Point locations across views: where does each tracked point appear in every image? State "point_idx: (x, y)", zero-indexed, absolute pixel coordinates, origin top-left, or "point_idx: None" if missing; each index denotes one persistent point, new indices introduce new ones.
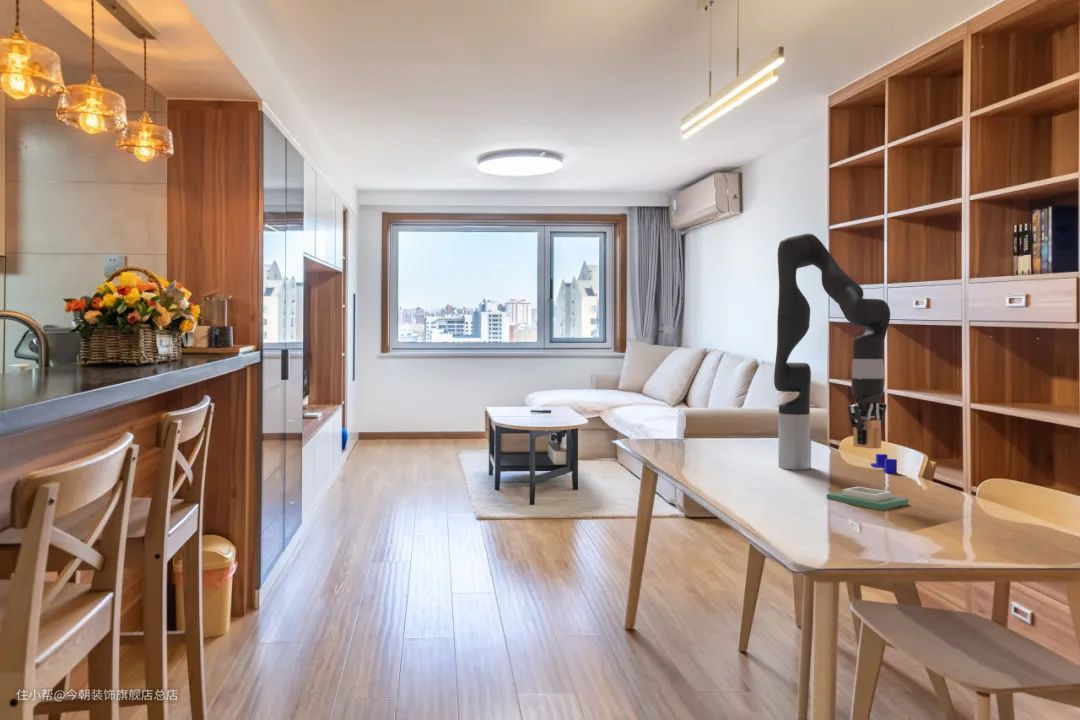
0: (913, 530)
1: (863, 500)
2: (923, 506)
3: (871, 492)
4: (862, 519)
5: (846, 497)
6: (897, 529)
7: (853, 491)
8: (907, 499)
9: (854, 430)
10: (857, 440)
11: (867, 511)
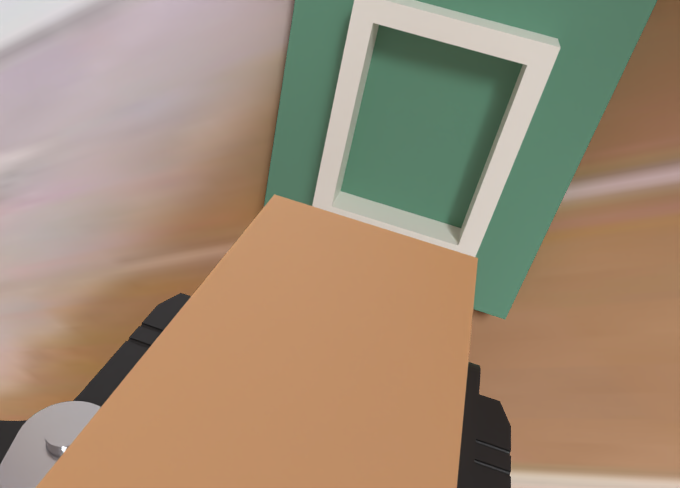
0: (61, 352)
1: (286, 146)
2: (513, 354)
3: (493, 146)
4: (52, 197)
5: (301, 37)
6: (30, 315)
7: (339, 77)
8: (496, 315)
9: (167, 342)
10: (160, 305)
11: (206, 177)
